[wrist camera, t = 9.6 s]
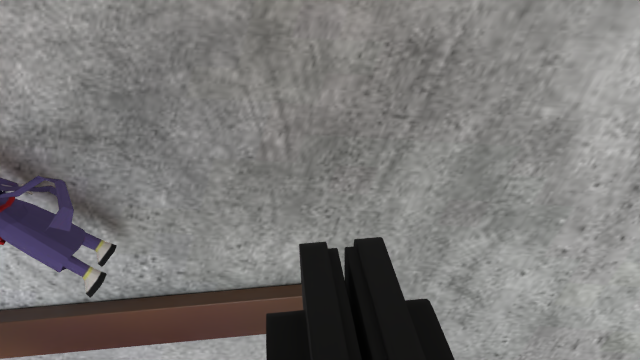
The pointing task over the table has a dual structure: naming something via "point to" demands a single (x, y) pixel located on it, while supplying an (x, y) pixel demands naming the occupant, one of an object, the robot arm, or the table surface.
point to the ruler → (142, 320)
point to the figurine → (49, 231)
